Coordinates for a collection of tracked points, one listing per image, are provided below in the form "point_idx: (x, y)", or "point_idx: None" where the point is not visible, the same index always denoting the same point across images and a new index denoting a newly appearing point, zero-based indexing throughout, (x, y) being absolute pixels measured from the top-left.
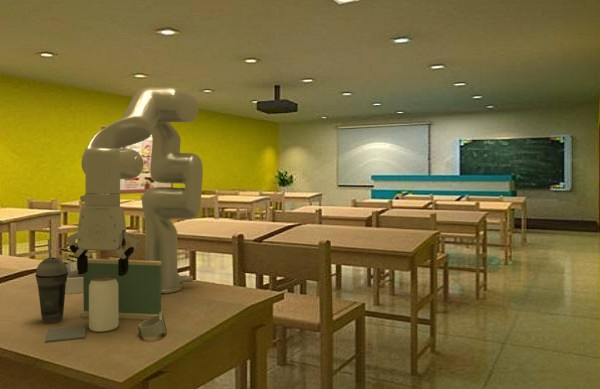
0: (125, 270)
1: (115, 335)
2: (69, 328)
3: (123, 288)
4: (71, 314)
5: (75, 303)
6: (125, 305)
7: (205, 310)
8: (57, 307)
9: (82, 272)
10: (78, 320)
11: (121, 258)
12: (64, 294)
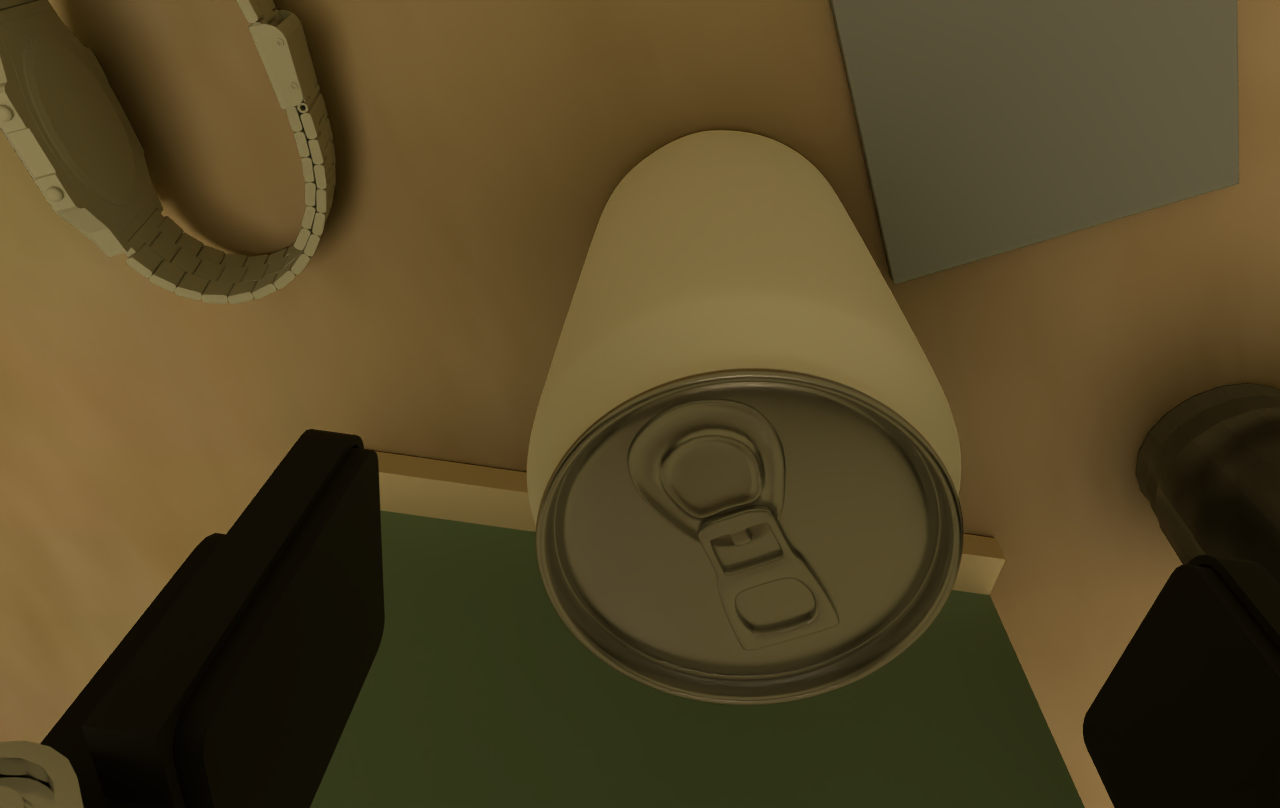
0: (206, 539)
1: (544, 44)
2: (1031, 203)
3: (630, 718)
4: (1081, 586)
5: (1092, 795)
6: None
7: (94, 637)
8: (1247, 477)
9: (1174, 611)
10: (995, 452)
11: (139, 801)
12: None
